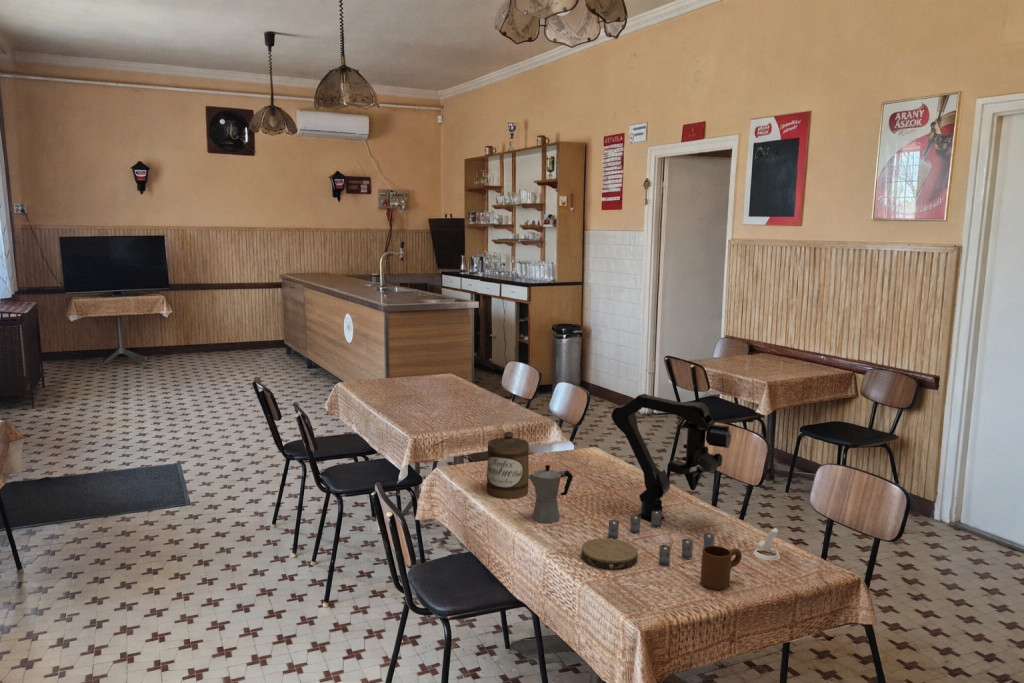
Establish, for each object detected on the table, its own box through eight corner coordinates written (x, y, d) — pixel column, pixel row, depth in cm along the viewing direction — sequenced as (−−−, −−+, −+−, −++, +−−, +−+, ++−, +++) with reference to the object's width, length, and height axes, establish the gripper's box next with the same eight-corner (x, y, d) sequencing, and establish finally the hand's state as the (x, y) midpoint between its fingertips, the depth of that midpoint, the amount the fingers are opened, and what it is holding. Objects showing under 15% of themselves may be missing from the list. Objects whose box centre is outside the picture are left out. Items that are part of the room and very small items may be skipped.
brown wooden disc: (645, 555, 222) (645, 546, 221) (624, 576, 208) (625, 565, 207) (594, 543, 229) (595, 534, 229) (572, 562, 216) (572, 552, 215)
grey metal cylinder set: (606, 536, 234) (606, 520, 233) (656, 523, 246) (656, 508, 245) (664, 567, 214) (665, 550, 213) (715, 551, 225) (716, 535, 224)
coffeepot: (531, 525, 241) (533, 470, 239) (522, 515, 250) (523, 462, 248) (576, 521, 246) (578, 467, 243) (565, 511, 255) (567, 459, 252)
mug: (729, 573, 211) (732, 541, 209) (748, 585, 204) (751, 552, 202) (694, 580, 206) (696, 547, 204) (712, 592, 199) (714, 558, 198)
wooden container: (480, 495, 267) (482, 435, 264) (494, 483, 281) (496, 425, 278) (520, 501, 263) (522, 439, 260) (533, 488, 277) (535, 429, 274)
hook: (779, 553, 212) (762, 533, 216) (762, 574, 221) (745, 555, 224) (797, 542, 216) (779, 523, 220) (779, 564, 224) (762, 545, 228)
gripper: (694, 453, 229) (690, 502, 231) (735, 445, 239) (732, 492, 241) (667, 444, 238) (664, 492, 240) (708, 436, 248) (705, 482, 250)
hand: (692, 490), depth 243 cm, fingers closed
